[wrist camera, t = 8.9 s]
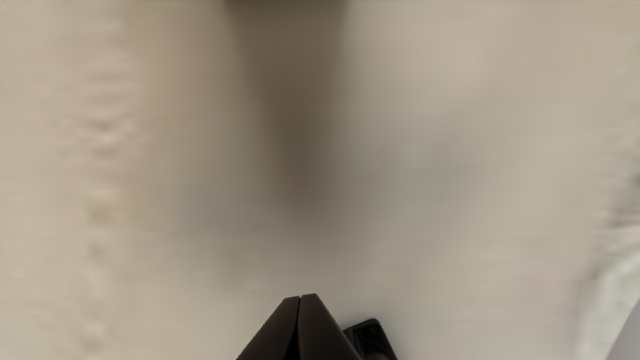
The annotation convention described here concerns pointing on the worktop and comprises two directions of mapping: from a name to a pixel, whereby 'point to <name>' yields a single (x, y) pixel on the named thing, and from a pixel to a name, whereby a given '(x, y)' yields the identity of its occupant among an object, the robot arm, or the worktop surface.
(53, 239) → the worktop surface
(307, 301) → the robot arm
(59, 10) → the worktop surface
